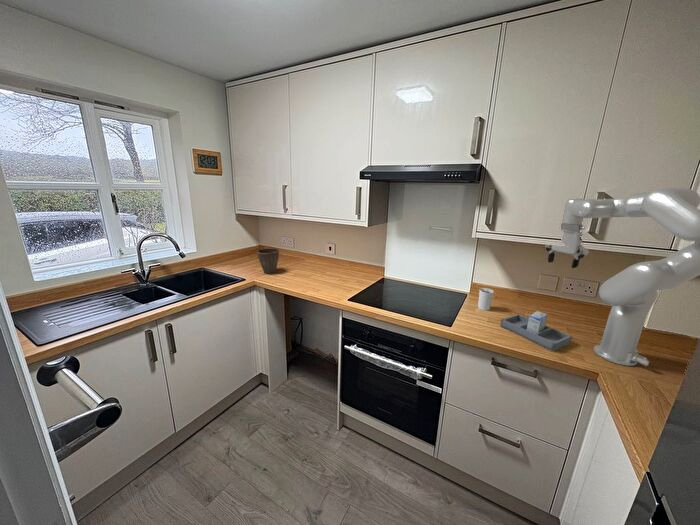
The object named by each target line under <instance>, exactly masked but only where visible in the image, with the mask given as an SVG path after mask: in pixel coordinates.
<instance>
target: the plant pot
mask: <svg viewBox="0 0 700 525" xmlns="http://www.w3.org/2000/svg"><path fill="white" fill-rule="evenodd" d="M256 252H257V253H256V254H257V256H258V261H259V263H260V267H261V268H262V271H263V272H264V274H266V275H270V274H275V273H276V270H277V268H278V262H279V255H280V250H279V248H270V247H269V248H262V249H261V248H260V249H258V250H257V251H256Z"/></svg>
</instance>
